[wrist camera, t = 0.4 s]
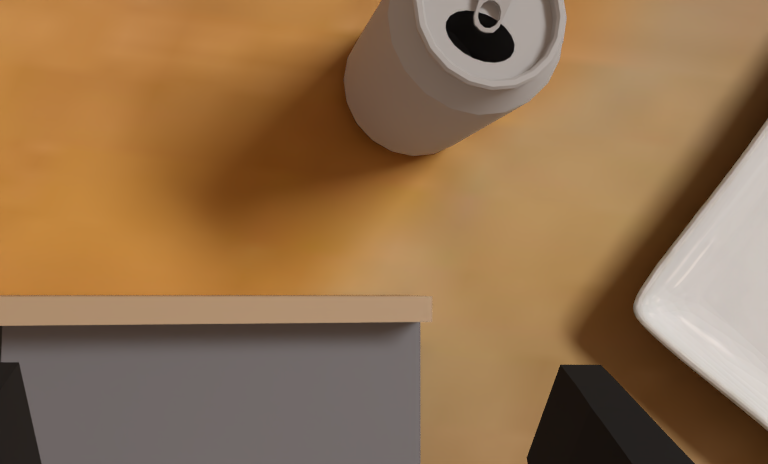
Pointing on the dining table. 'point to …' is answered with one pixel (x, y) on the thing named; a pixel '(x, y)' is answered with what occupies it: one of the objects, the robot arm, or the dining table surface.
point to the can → (449, 67)
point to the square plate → (720, 287)
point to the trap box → (219, 377)
